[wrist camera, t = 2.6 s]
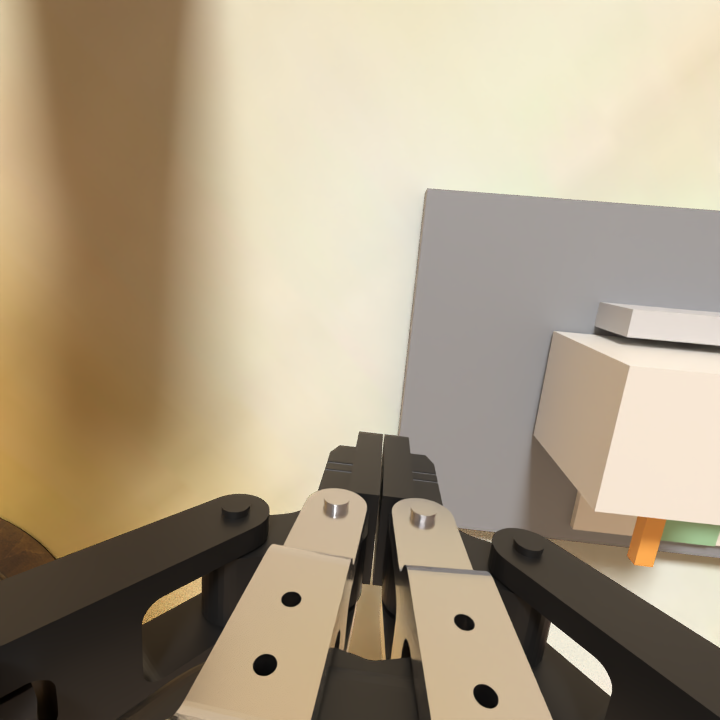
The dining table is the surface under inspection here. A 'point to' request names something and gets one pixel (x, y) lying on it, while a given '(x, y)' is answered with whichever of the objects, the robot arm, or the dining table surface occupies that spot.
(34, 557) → the wooden container
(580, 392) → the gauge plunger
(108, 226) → the dining table surface
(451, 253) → the stand
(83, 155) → the dining table surface
